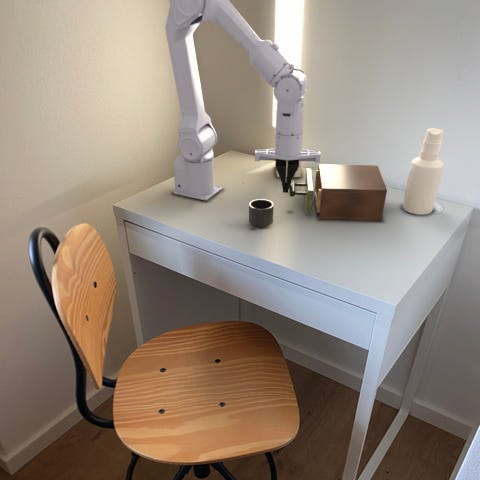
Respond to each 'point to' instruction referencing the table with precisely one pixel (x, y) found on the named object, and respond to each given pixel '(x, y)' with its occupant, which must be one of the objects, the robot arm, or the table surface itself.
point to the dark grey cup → (261, 213)
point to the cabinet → (351, 192)
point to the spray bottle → (425, 175)
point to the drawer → (308, 190)
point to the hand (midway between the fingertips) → (285, 191)
